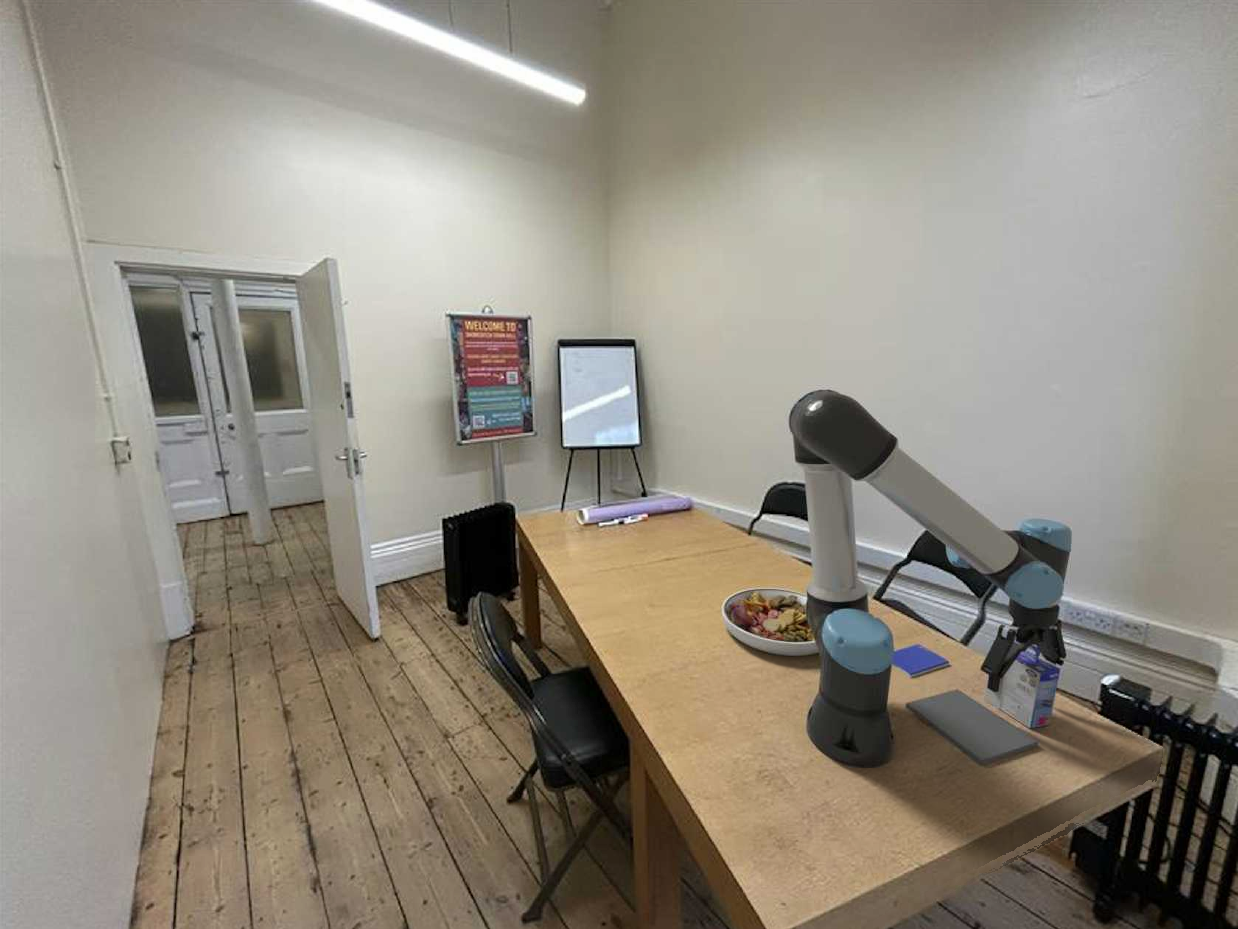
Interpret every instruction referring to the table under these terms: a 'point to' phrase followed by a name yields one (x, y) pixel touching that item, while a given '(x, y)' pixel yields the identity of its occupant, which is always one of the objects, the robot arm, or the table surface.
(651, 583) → the table surface
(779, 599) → the bowl
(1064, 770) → the table surface
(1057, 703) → the table surface
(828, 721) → the robot arm
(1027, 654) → the ink cartridge box
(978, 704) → the rubber mat
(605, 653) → the table surface
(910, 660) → the blue book
